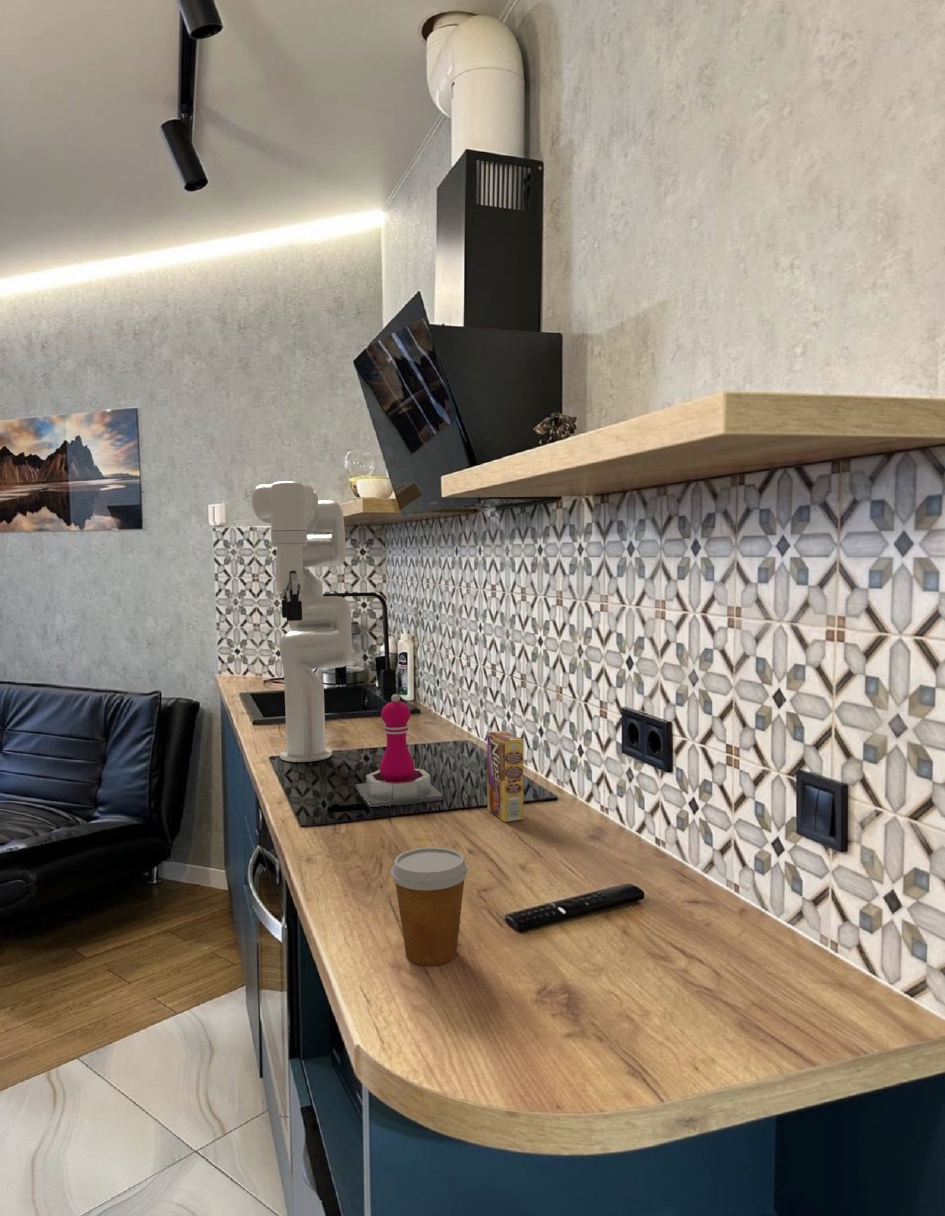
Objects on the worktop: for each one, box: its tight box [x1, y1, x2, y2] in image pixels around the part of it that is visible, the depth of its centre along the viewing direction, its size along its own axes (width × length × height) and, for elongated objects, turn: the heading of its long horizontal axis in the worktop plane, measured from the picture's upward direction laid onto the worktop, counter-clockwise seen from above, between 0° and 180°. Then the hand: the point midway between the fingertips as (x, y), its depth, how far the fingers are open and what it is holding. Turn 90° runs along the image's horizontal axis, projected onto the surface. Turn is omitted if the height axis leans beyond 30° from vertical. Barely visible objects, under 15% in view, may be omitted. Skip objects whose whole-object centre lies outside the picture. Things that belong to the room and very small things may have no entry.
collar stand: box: [355, 768, 444, 808], centre depth 174 cm, size 15×15×4 cm
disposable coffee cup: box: [390, 846, 469, 967], centre depth 103 cm, size 10×10×12 cm
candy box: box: [486, 730, 525, 823], centre depth 159 cm, size 9×4×15 cm, turn 20°
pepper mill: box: [379, 693, 416, 783], centre depth 173 cm, size 7×7×20 cm
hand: (292, 619), depth 181 cm, fingers open, 9 cm apart
